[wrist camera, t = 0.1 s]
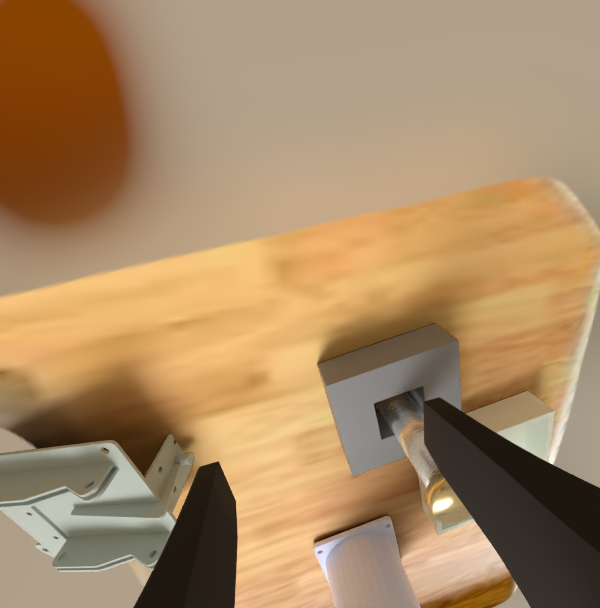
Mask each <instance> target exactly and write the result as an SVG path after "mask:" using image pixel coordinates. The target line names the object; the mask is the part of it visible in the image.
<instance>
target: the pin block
mask: <svg viewBox="0 0 600 608" xmlns="http://www.w3.org/2000/svg"><path fill="white" fill-rule="evenodd" d="M317 365H318V368H319V372H320V375H321V378H322V382H323V385H324V388H325V392H326V395H327V398H328V401H329V405H330V408H331V411H332V415H333V418H334V421H335V425H336V428H337V431H338V435H339V438H340V441H341V444H342V448H343V451H344V453H345V456H346V459H347V461H348V464H349V466H350V469H351V472H352V474H353V477H354V476H356V475H359V474H362V473H365V472H367V471H370V470H373V469H375V468H378V467H381V466H383V465H386V464H389V463H392V462H394V461H397V460H400V459H402V458H405V457H407V455H406V453H405V452H404V450H403V448H402V447H401V445H400V443H399V442H398V440H397V438H396V437H395V435H394V433H393V432H392V430H391V428H390V427H389V425H388V423H387V422H386V420H385V418H384V417H383V415H382V413H381V412H380V411H378V412H375V408H374V403H376V402H379V401H382V400H385V399H387V398H390V397H393V396H396V395H399V394H401V393H404V392H407V391H409V396H410V397H411V398H412V399H413V401H414V402H415V403H416V405H417V406H418V407H419V408H420V410H421V411H422V412H423V402H424V401H428V400H431V399H435V398H438V397H440V398H442V399H443V400H445V401H446V402H448V403H450V404H451V405H453V406H454V407H456V408H457V409H459V410H461V411H462V405H461V385H460V365H459V345H458V340H457V339H456V338H455V337H453V336H452V335H451V334H449V333H448V332H447V331H445V330H444V329H443V328H441V327H440V326H438V325H437V324H436V323H434V324H431V325H428V326H426V327H423V328H420V329H417V330H414V331H411V332H408V333H405V334H402V335H399V336H396V337H394V338H391V339H388V340H385V341H382V342H379V343H376V344H373V345H370V346H367V347H365V348H362V349H359V350H356V351H353V352H350V353H347V354H344V355H341V356H338V357H335V358H333V359H330V360H327V361H324V362H321V363H318V364H317Z"/></svg>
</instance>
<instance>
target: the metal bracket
mask: <svg viewBox="0 0 600 608" xmlns="http://www.w3.org/2000/svg"><path fill="white" fill-rule="evenodd" d="M174 440H175V438H174V436H173V435H172V433H171V434H169V435H168V436H167V438H166V440H165V442H164V443H163V445H162V447H161V449H160V450H159V452H158V454H157V456H156V457H155V459H154V461H153V463H152V464H151V466H150V468H149V470H148V471H147V473H146V475H145V477H144V476H143V475H142V474H141V472H140V471H139V470H138V468H137V467H136V466H135V465H134V463H133V462H132V461H131V459H130V458H129V457H128V456H127V454H126V453H125V452H124V450H123V449H122V448H121V447H120V445H119V444H118V443H117V442H116V441H113V440H105V441H97V442H89V443H81V444H73V445H65V446H57V447H49V448H41V449H33V450H25V451H17V452H9V453H0V510H1V511H3V512H4V513H5V514H6V515H7V516H8V517H10V518H11V519H12V520H13V521H14V522H15V523H17V524H18V525H19V526H20V527H21V528H23V529H24V530H25V531H26V532H27V533H29V534H30V535H31V536H32V537H33V538H34V539H36V540H37V541H38V543H37V544H36V545H35V547H36V548H37V549H39V550H40V551H41V552H43V553H46V554H47V555H49V556H51V557H53V558H55V559H54V560H53V567H55V568H57V569H58V571H60V572H81V571H83V572H84V571H103V570H106V569H109V568H112V567H115V566H118V565H121V564H124V563H127V562H130V561H133V560H137V561H139V562H140V563H142V564H143V565H145V566H146V567H147V568H149V569H150V570H153V569H154V567H155V565H156V563H157V561H158V559H159V557H160V555H161V553H162V551H163V549H164V547H165V545H166V543H167V540H168V538H169V536H170V534H171V532H172V529H173V527H174V525H175V523H176V521H177V519H176V518H175V516H174V515H173V514H172V512H173V510H174V507H175V505H176V503H177V501H178V498H179V496H180V494H181V491H182V489H183V487H184V485H185V482H186V480H187V478H188V476H189V473H190V471H191V469H192V464H193V461H194V453H184V452H183V450H182V449H181V447H180V446H179V444H178V443H177V442H176V443H174ZM103 448H106V449H108V450H109V451H106V450H104V449H103ZM159 467H160V471H158V470H159ZM173 490H174V491H173Z"/></svg>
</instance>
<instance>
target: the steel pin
mask: <svg viewBox="0 0 600 608" xmlns="http://www.w3.org/2000/svg"><path fill="white" fill-rule="evenodd" d="M376 405H377V407H378V408H379V410H380V412H381V413H382V415H383V417H384V418H385V420H386V422H387V423H388V425H389V427H390V428H391V430H392V432H393V433H394V435H395V437H396V438H397V440H398V442H399V443H400V445H401V447H402V448H403V450H404V452H405V453H406V455H407V457H408V458H409V460H410V462H411V463H412V465H413V467H414V468H415V470H416V472H417V473H418V475H419V477H420V478H421V480H422V482H423V483H424V485H425V487H426V490H425V494H424V498H425V501H426V503H427V505H428V506H429V508H430V510H431V512H432V513H433V515H434V517H435V518H436V519H437V520H438V521H440V522H443V523H454V522H458V521H462V520H464V519H467V518H469V517H471V515H470V513H469V512H468V510H467V509H466V508H465V506H464V505H463V503H462V502H461V501H460V499H459V498H458V497H457V495H456V494H455V492H454V491H453V489H452V488H451V487H450V485H449V484H448V482H447V481H446V480H445V478H444V477H443V475H442V474H441V472H440V471H439V469H438V467H437V465H436V464H435V462H434V460H433V459H432V457H431V455H430V453H429V451H428V450H427V448H426V446H425V444H424V413H423V412H422V411H421V410H420V408H419V407H418V406H417V405H416V403H415V402H414V401H413V399H412V398H411V397H410V396H409V394H408V393H407V392H404V393H401V394H399V395H396V396H393V397H390V398H387V399H385V400H382V401H379V402H376Z"/></svg>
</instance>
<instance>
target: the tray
mask: <svg viewBox="0 0 600 608" xmlns="http://www.w3.org/2000/svg"><path fill="white" fill-rule="evenodd" d="M465 414H467V415H468V416H470V417H472V418H473V419H475V420H476V421H478V422H480V423H481V424H483V425H484V426H486V427H488V428H489V429H491V430H492V431H494V432H496V433H497V434H499V435H501V436H502V437H504V438H506V439H507V440H509V441H511V442H512V443H514V444H516V445H518V446H519V447H521V448H523V449H525V450H526V451H528V452H530V453H532V454H534V455H535V456H537V457H539V458H541V459H543V460H545V461H546V462H548V461H549V454H550V446H551V439H552V431H553V423H554V416H555V410H554V409H552V408H551V407H550V406H548V405H547V404H545V403H544V402H543V401H541V400H540V399H539V398H537V397H536V396H535V395H533V394H532V393H531V392H529V391H525V392H522V393H520V394H517V395H514V396H512V397H509V398H506V399H503V400H501V401H498V402H495V403H492V404H490V405H487V406H484V407H481V408H479V409H476V410H473V411H471V412H468V413H465ZM418 479H419V486H420V492H421V499H422V505H423V509H424V511H425V513H426V515H427V517H428V518H429V520H430V522H431V524H432V526H433V527H434V529H435V531H436V533H437V535H440V534H442V533H445V532H448V531H450V530H453V529H455V528H458V527H460V526H463V525H466V524H468V523H471V522H473V521H475V520H474V519H473V517H472V516H471V517H469V518H467V519H464V520H462V521H458V522H454V523H443V522H440V521H438V520H437V519H436V518H435V517H434V515H433V513H432V512H431V510H430V508H429V506H428V505H427V503H426V501H425V498H424V494H425V490H426V487H425V485H424V483H423V482H422V480H421V478H420V477H419V475H418Z"/></svg>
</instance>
